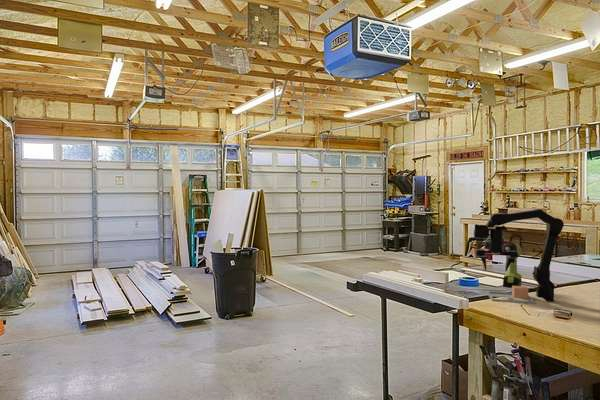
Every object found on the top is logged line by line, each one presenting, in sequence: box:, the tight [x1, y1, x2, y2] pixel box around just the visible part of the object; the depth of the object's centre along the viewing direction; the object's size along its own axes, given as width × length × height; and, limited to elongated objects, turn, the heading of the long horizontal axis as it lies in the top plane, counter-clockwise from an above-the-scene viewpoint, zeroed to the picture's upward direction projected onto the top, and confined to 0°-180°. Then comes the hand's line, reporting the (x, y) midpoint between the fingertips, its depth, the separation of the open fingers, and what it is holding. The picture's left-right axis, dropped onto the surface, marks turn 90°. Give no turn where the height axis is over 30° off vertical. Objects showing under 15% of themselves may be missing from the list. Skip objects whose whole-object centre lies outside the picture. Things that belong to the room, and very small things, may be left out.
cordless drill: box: [502, 241, 523, 289], centre depth 226 cm, size 23×7×25 cm, turn 143°
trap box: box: [485, 290, 536, 305], centre depth 205 cm, size 18×16×2 cm
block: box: [511, 285, 529, 299], centre depth 207 cm, size 6×5×4 cm
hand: (495, 270), depth 213 cm, fingers open, 9 cm apart
